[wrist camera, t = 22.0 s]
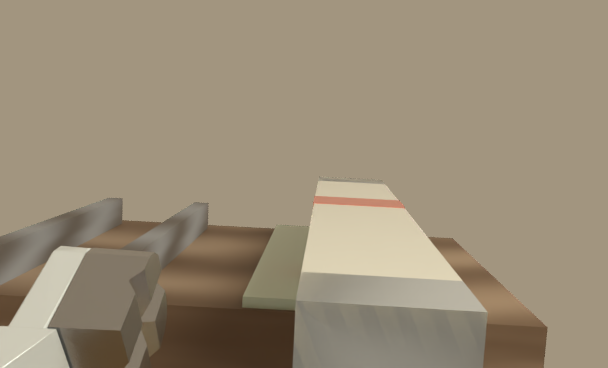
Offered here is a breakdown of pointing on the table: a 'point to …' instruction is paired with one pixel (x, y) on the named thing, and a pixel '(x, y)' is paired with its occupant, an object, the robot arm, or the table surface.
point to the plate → (278, 270)
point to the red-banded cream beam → (379, 288)
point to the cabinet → (232, 287)
